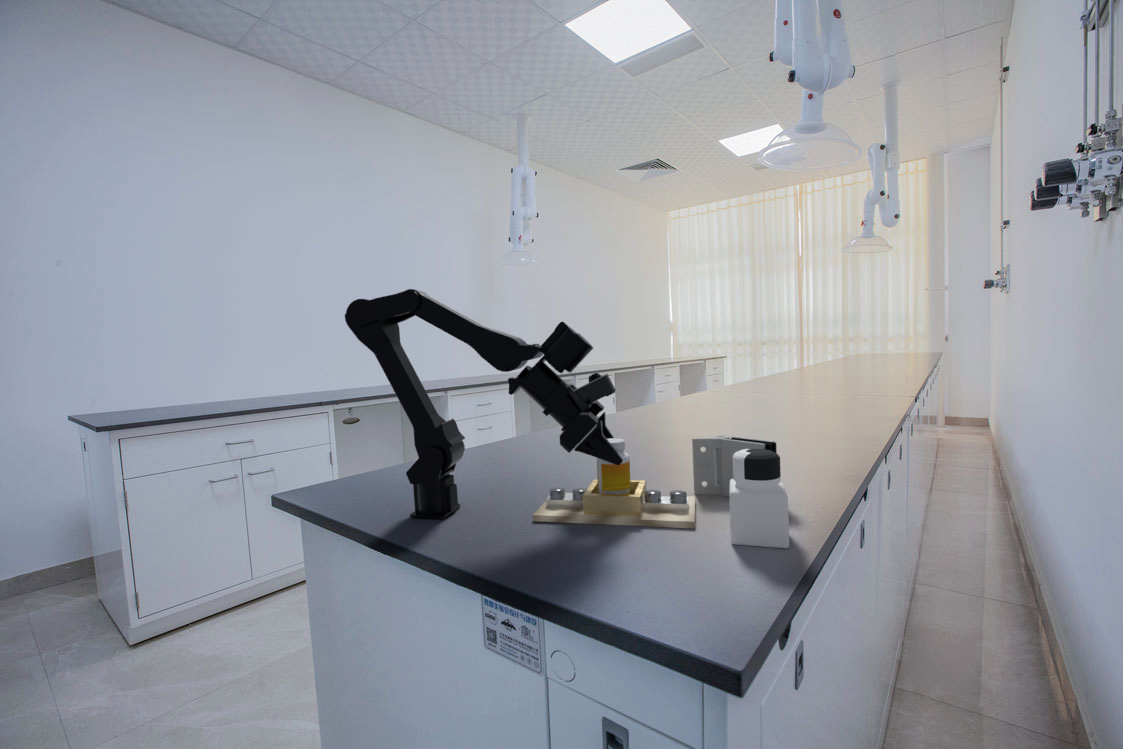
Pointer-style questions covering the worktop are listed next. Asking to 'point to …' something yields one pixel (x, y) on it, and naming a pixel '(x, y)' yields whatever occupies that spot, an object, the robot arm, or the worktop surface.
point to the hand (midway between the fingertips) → (621, 458)
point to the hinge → (720, 461)
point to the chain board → (619, 517)
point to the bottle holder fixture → (618, 500)
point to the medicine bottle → (758, 500)
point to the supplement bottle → (614, 472)
